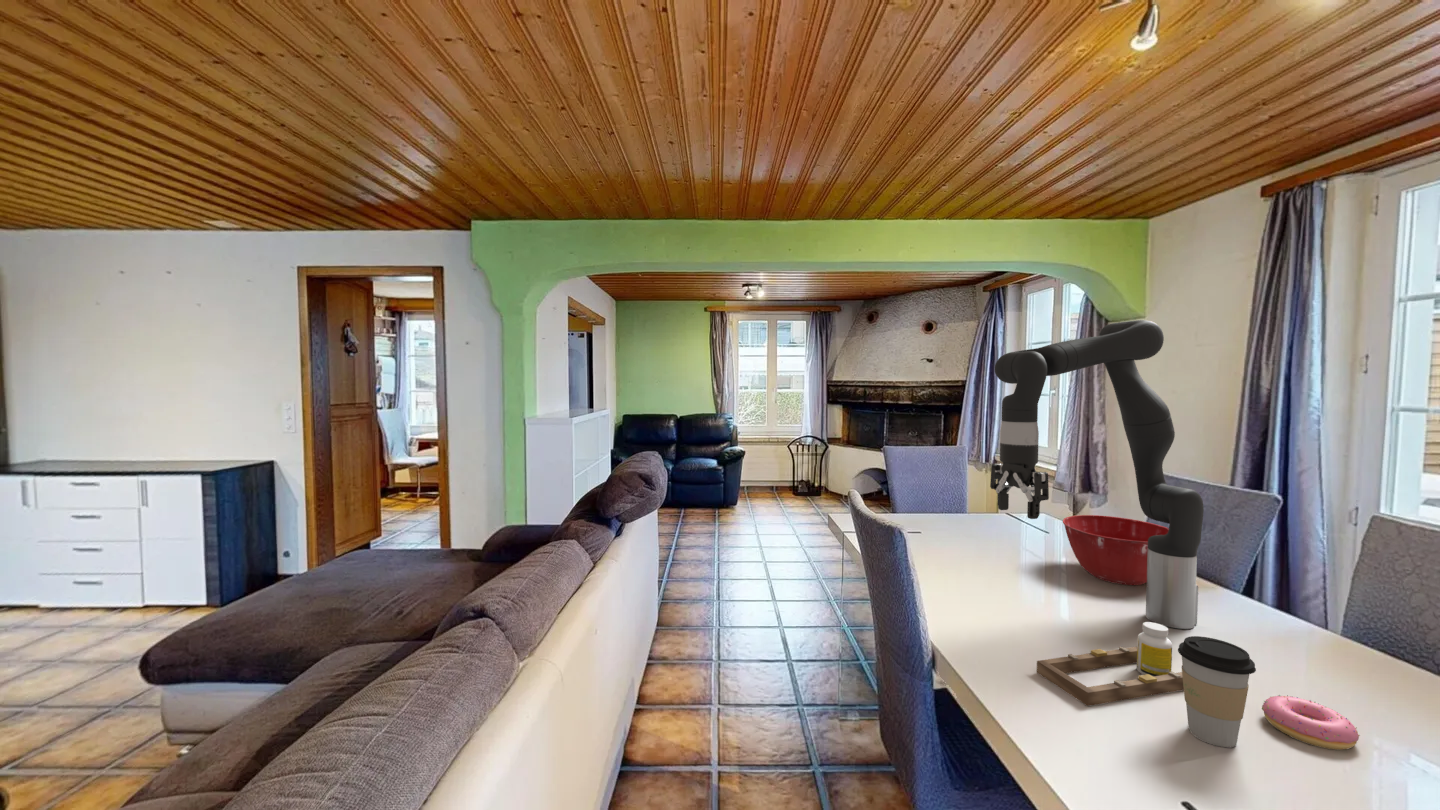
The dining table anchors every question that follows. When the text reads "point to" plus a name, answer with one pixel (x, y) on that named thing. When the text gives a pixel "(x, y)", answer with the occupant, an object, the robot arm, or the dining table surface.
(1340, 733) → the doughnut
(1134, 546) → the mixing bowl
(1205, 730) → the coffee cup
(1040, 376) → the robot arm
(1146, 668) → the supplement bottle
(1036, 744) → the dining table surface
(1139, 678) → the wooden u-shaped frame
